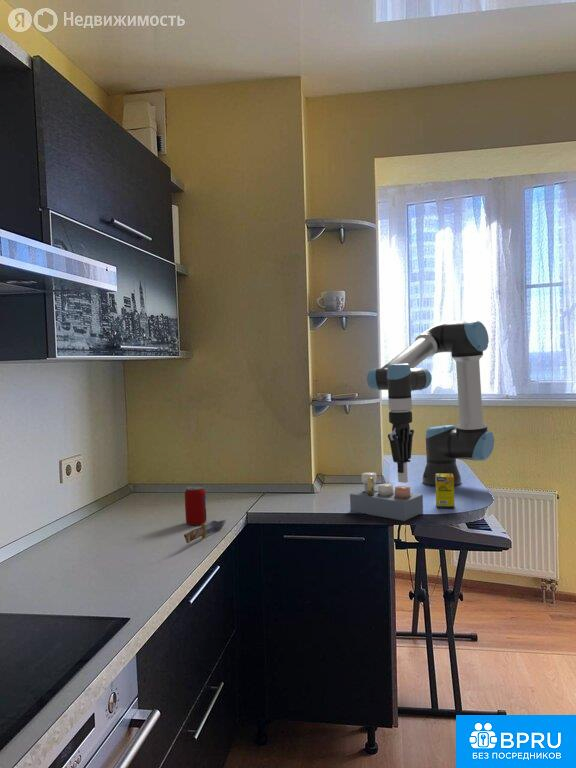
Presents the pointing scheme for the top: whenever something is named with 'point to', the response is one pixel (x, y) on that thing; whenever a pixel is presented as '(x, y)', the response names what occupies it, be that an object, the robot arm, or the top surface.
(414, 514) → the mount
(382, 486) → the knob
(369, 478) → the pot post
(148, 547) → the top surface
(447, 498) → the supplement box
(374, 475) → the knob
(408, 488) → the knob
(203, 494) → the beverage can
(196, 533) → the knife
